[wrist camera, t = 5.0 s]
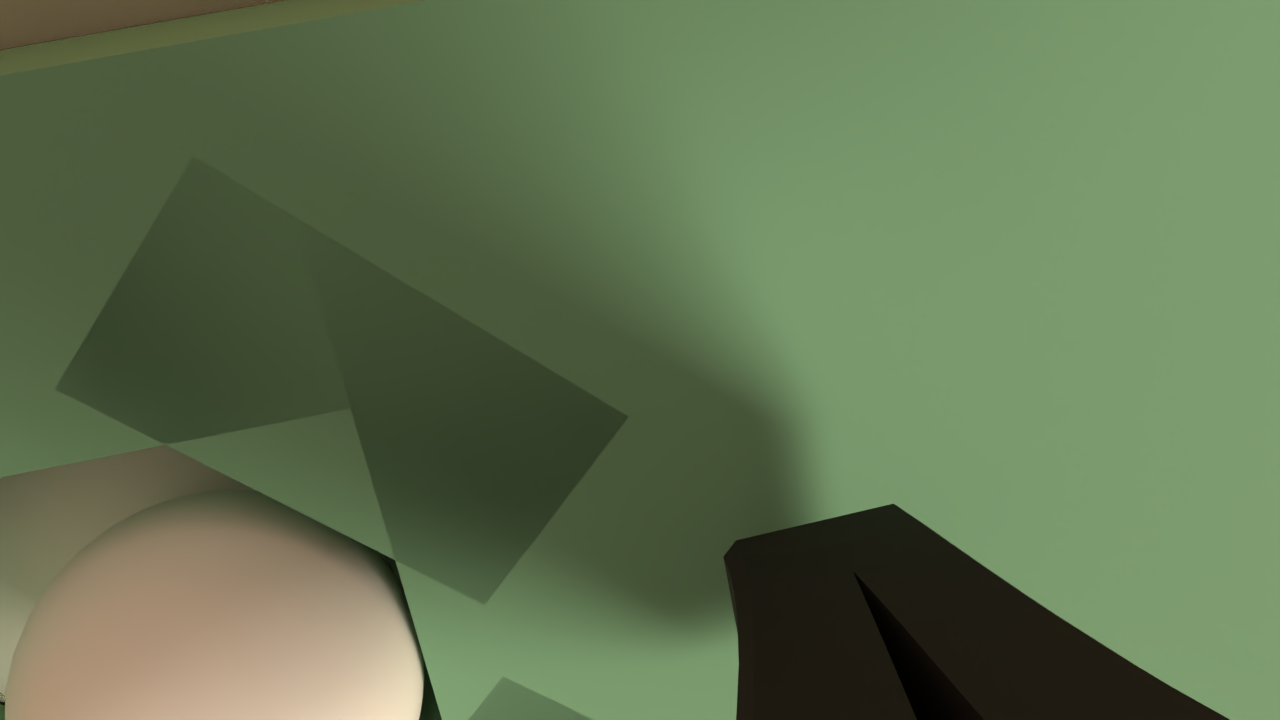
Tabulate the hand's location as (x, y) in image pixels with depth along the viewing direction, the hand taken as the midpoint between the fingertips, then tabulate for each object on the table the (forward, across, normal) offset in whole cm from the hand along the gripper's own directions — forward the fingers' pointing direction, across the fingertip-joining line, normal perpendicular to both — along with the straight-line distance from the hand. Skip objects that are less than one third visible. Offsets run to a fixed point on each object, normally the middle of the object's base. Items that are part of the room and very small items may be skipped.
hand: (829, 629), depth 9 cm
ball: (+1, +5, 0) cm, 5 cm away
